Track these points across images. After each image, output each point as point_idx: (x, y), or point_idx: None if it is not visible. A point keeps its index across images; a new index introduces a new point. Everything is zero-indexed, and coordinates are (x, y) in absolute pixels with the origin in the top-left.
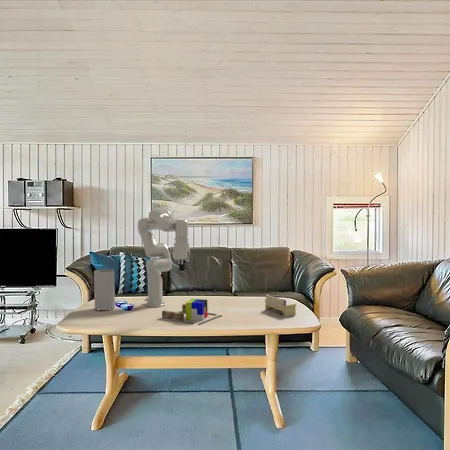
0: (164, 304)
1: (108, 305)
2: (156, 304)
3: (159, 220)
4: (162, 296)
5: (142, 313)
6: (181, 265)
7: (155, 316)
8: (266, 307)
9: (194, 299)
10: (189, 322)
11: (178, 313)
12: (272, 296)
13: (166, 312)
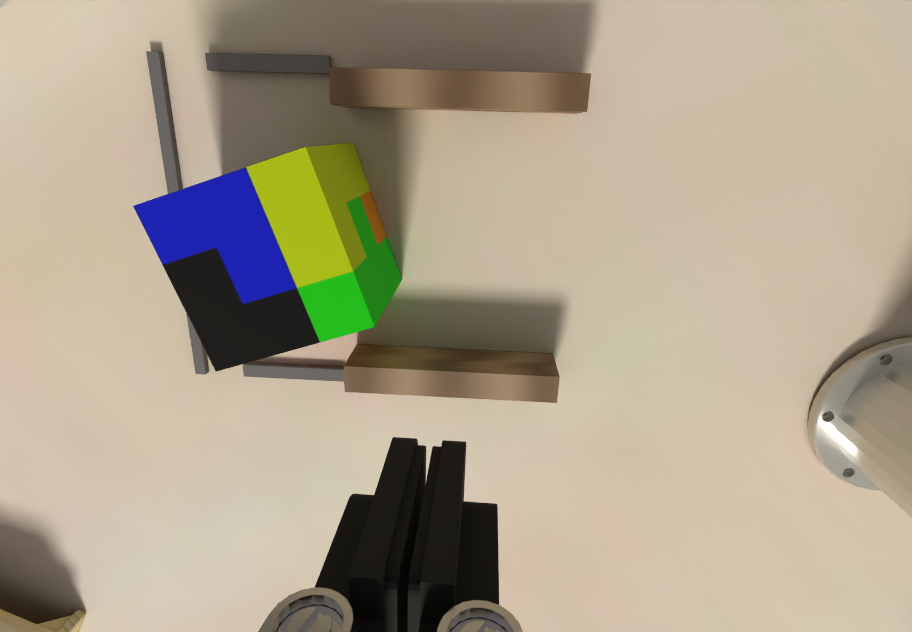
0: (811, 442)
1: None
2: (868, 383)
3: None
4: (885, 491)
5: (856, 117)
6: (358, 556)
7: (668, 90)
8: (65, 622)
9: (333, 324)
10: (247, 54)
11: (379, 79)
12: None
13: (528, 73)
